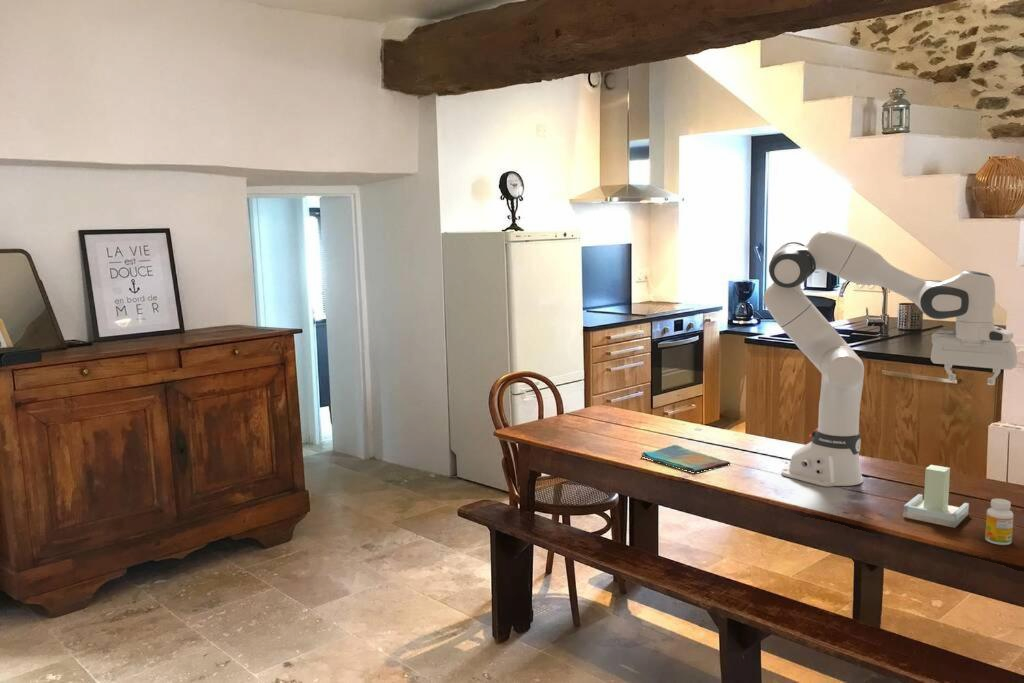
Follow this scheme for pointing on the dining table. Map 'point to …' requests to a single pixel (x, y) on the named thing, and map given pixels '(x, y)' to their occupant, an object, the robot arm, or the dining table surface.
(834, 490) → the dining table surface
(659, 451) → the dish towel
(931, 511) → the holder
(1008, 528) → the supplement bottle
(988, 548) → the dining table surface
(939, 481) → the green block
